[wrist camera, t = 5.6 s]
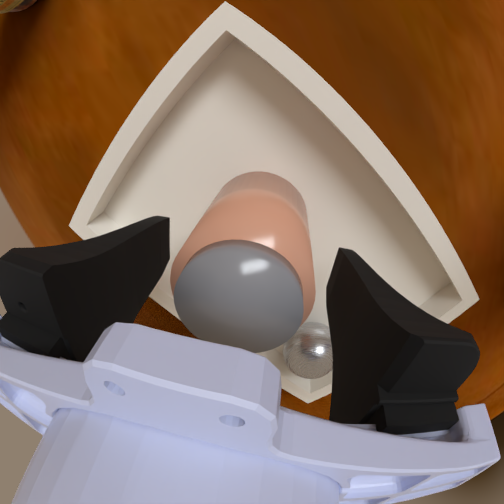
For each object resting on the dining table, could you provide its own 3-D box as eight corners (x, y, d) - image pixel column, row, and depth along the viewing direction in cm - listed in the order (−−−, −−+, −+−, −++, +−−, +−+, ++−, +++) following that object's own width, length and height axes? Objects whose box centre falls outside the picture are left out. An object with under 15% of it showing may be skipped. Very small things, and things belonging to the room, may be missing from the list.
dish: (463, 276, 15) (479, 299, 13) (308, 377, 22) (308, 403, 19) (236, 16, 10) (225, 1, 8) (91, 209, 16) (69, 225, 14)
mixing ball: (348, 330, 18) (355, 372, 15) (307, 355, 19) (307, 396, 16) (314, 300, 17) (317, 344, 14) (272, 329, 18) (267, 371, 15)
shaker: (321, 190, 14) (345, 273, 8) (287, 269, 16) (282, 373, 10) (225, 158, 13) (172, 216, 7) (204, 242, 16) (156, 334, 10)
